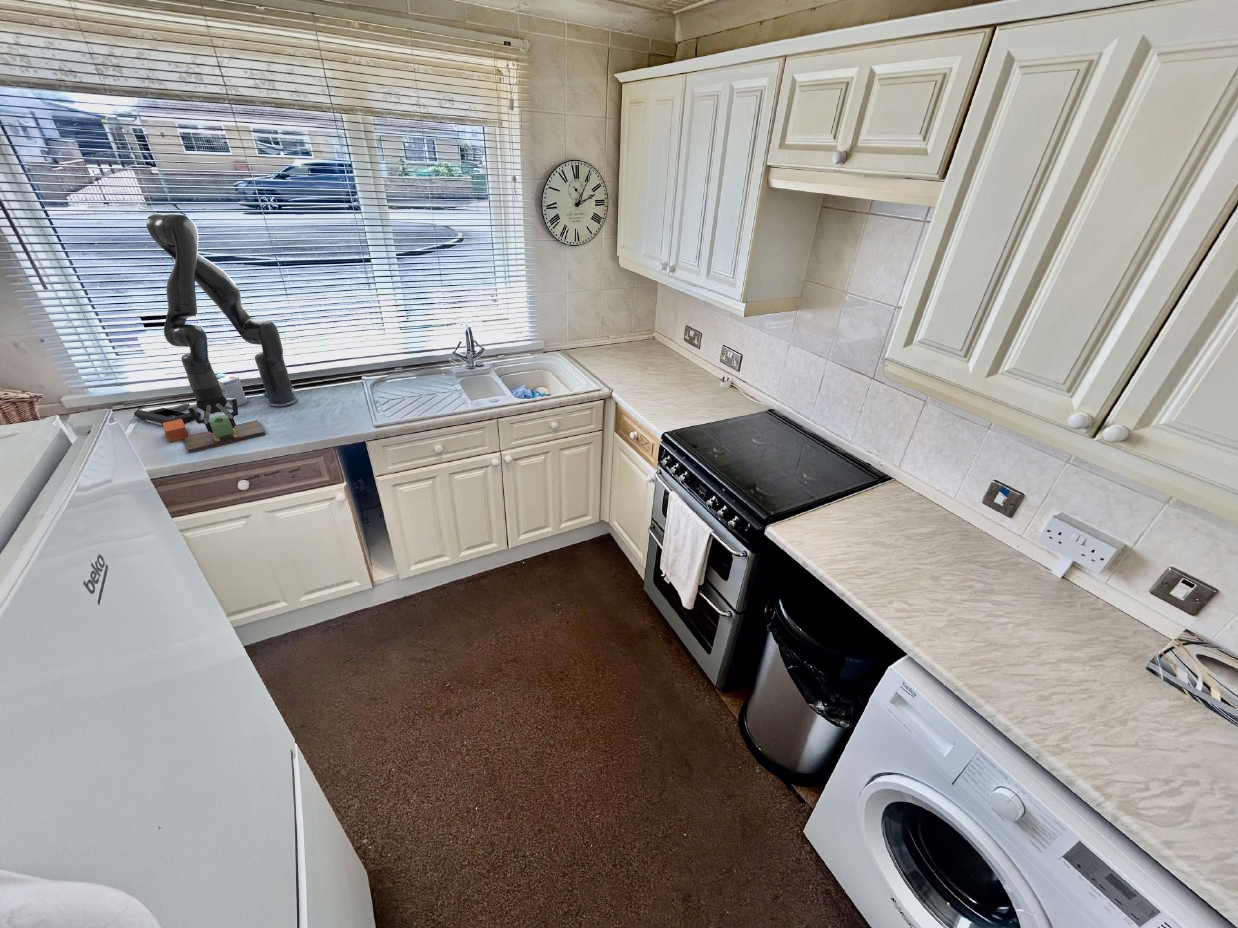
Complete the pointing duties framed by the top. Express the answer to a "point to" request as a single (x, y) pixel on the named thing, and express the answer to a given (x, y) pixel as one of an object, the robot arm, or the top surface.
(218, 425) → the green block with hole
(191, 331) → the robot arm
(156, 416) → the black rectangular frame
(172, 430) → the orange block
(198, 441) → the jig board
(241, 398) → the light bulb box
